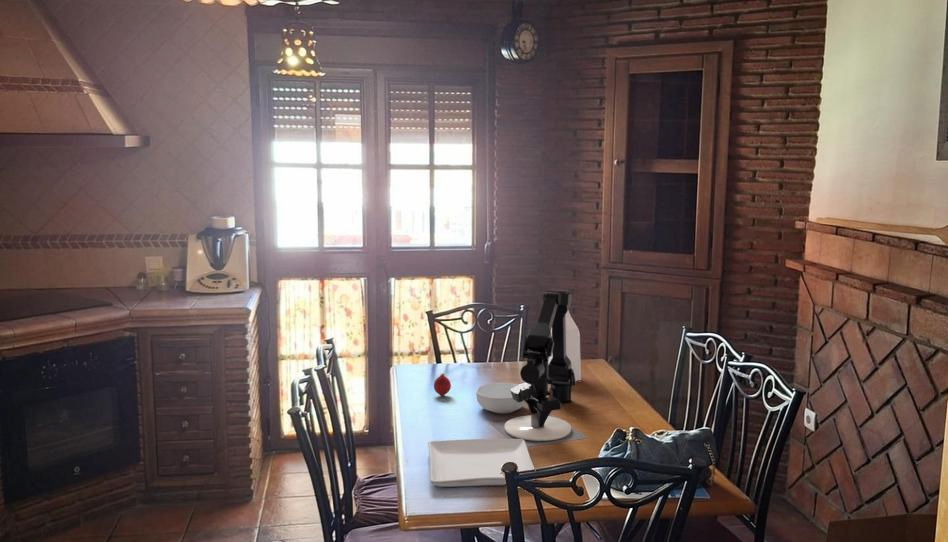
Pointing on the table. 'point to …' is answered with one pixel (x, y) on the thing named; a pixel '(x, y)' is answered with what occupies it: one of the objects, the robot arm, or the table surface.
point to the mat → (572, 436)
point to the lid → (537, 428)
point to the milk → (572, 345)
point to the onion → (442, 385)
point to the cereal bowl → (498, 398)
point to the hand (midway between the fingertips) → (537, 424)
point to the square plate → (475, 461)
